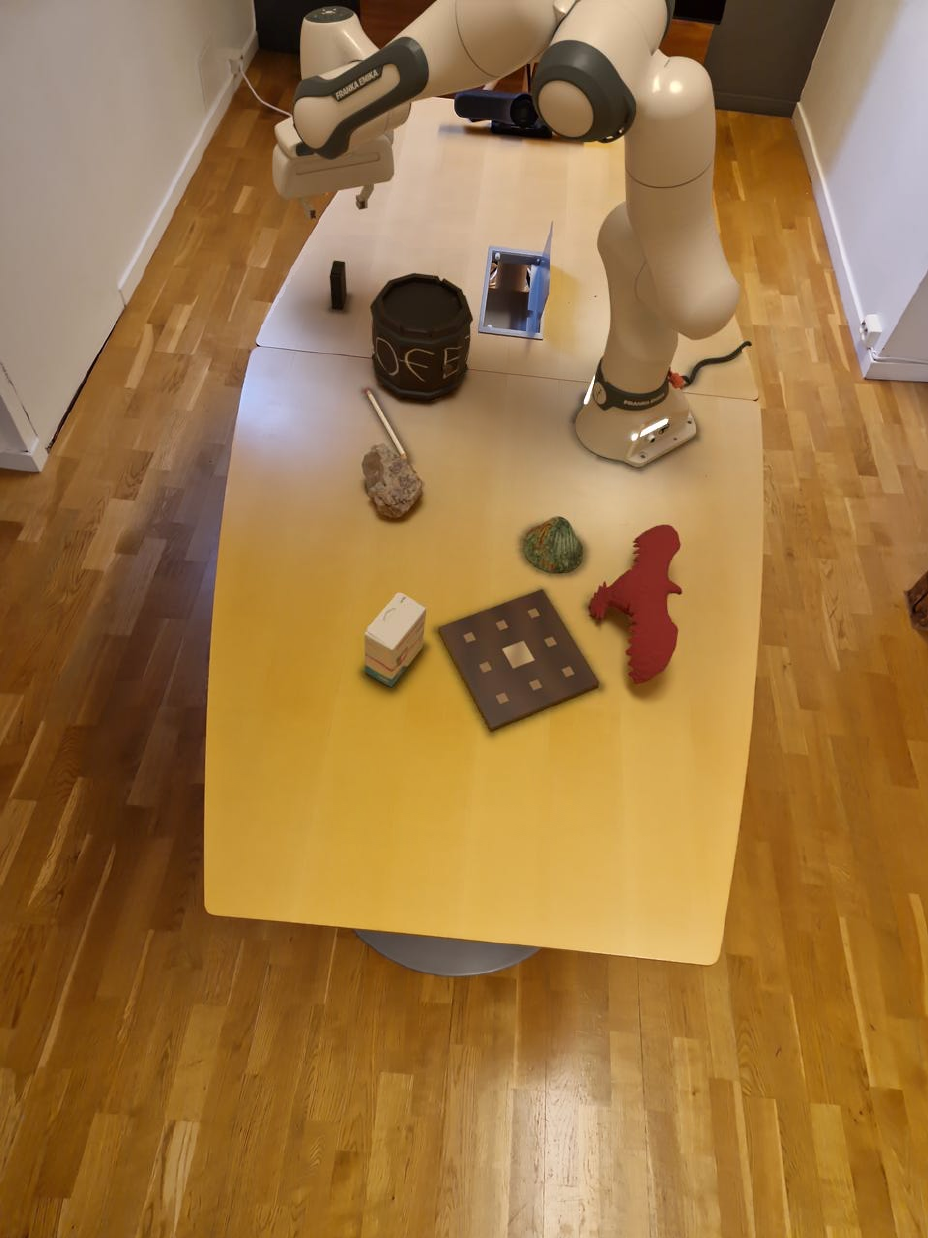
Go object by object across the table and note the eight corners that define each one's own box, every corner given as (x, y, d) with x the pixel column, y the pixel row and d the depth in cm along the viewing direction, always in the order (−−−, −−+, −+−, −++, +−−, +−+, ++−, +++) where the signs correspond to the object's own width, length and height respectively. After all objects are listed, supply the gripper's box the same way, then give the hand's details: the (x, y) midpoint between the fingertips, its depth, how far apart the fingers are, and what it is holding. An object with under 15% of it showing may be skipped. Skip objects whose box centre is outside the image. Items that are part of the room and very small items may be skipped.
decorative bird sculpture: (605, 704, 125) (694, 684, 115) (569, 678, 119) (658, 654, 110) (616, 556, 139) (696, 527, 130) (584, 527, 134) (664, 494, 124)
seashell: (521, 546, 128) (538, 500, 133) (515, 561, 132) (533, 516, 137) (580, 569, 128) (596, 522, 133) (573, 583, 131) (588, 537, 136)
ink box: (392, 689, 118) (392, 650, 108) (364, 672, 120) (361, 632, 109) (424, 647, 122) (427, 605, 112) (397, 631, 124) (397, 588, 113)
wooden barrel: (401, 421, 146) (401, 351, 133) (355, 358, 153) (352, 286, 140) (486, 389, 152) (495, 319, 138) (438, 330, 159) (442, 258, 146)
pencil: (369, 390, 149) (369, 387, 149) (409, 462, 141) (409, 459, 140) (365, 391, 149) (365, 388, 148) (405, 463, 141) (405, 461, 140)
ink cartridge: (335, 294, 162) (333, 258, 156) (347, 295, 162) (345, 259, 156) (331, 310, 160) (328, 274, 153) (343, 311, 160) (340, 276, 153)
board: (541, 592, 129) (542, 588, 128) (598, 686, 121) (600, 682, 120) (438, 631, 124) (438, 626, 123) (490, 731, 116) (491, 727, 115)
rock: (388, 536, 136) (428, 510, 130) (334, 494, 130) (374, 465, 124) (399, 500, 142) (439, 473, 135) (348, 457, 136) (387, 428, 130)
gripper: (385, 108, 132) (384, 191, 144) (264, 127, 126) (273, 212, 137) (402, 128, 129) (399, 211, 141) (278, 149, 123) (286, 233, 135)
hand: (336, 212), depth 139 cm, fingers open, 8 cm apart
